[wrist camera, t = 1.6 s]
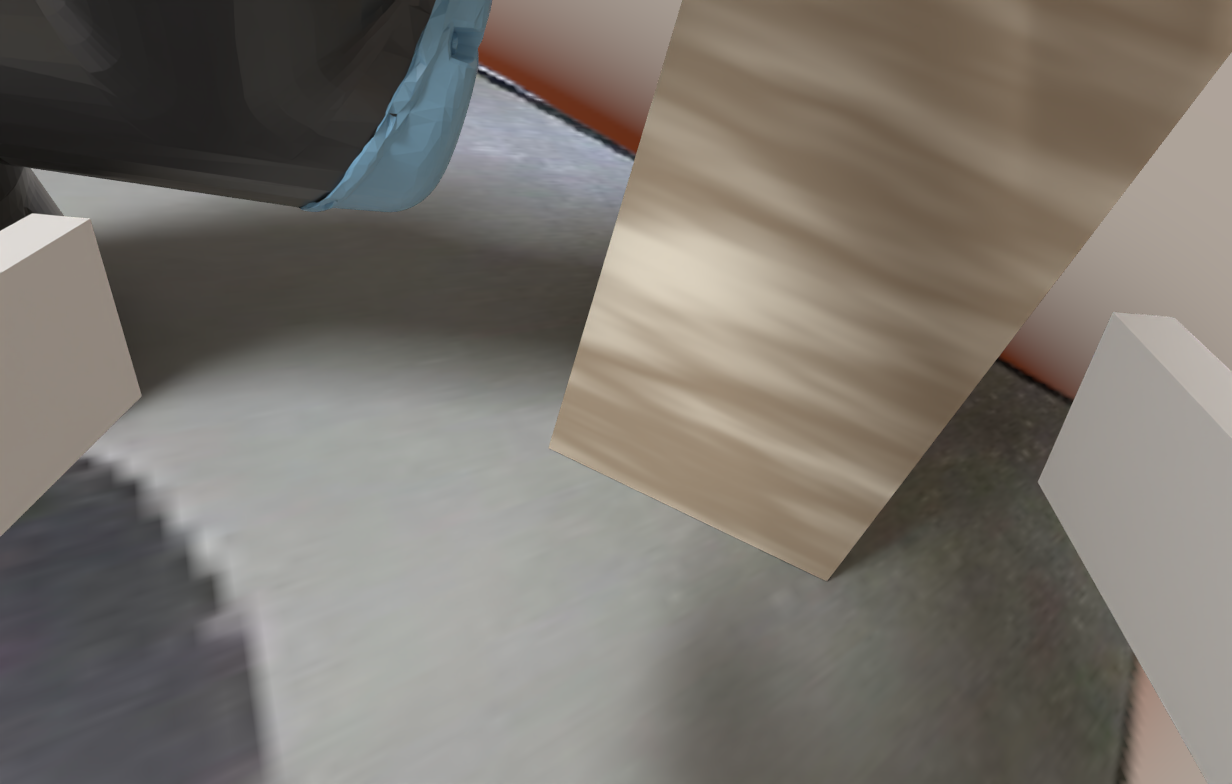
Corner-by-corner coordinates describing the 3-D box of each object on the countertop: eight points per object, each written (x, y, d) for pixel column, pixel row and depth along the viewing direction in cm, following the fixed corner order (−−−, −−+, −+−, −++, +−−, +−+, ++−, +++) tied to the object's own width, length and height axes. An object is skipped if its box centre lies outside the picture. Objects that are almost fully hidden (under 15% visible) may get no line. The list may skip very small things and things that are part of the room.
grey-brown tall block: (826, 581, 37) (1499, -299, 16) (548, 448, 39) (837, -518, 18) (867, 399, 48) (1312, -284, 27) (646, 299, 49) (902, -424, 28)
